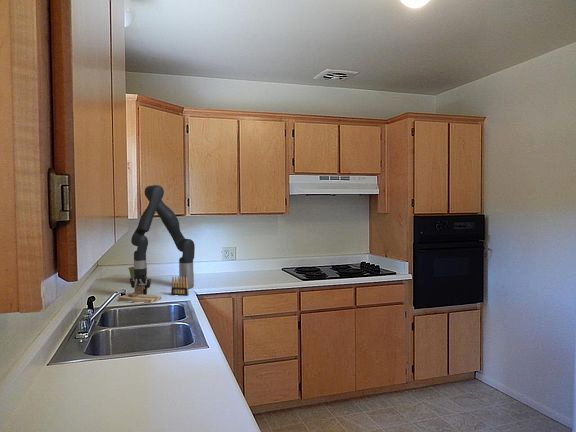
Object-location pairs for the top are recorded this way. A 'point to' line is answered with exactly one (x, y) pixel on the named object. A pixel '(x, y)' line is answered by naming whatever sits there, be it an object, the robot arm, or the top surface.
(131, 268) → the plant pot
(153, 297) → the board
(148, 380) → the top surface
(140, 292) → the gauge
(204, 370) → the top surface
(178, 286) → the ammunition clip
